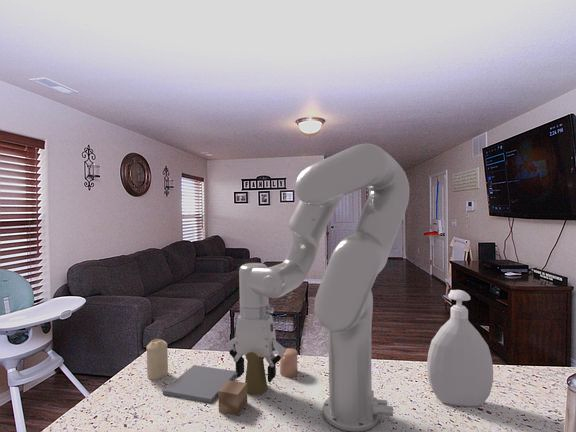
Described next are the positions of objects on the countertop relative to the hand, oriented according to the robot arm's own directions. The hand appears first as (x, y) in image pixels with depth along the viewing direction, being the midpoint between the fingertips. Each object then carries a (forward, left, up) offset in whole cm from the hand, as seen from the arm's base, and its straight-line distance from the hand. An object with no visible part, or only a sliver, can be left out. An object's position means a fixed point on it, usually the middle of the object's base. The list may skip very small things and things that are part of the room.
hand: (255, 376), depth 85 cm
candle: (+30, +1, -3) cm, 30 cm away
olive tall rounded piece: (0, 0, -3) cm, 3 cm away
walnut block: (+2, +9, -3) cm, 10 cm away
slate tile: (+15, +2, -3) cm, 15 cm away
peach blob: (-6, -10, -3) cm, 12 cm away
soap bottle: (-50, -8, -3) cm, 50 cm away
